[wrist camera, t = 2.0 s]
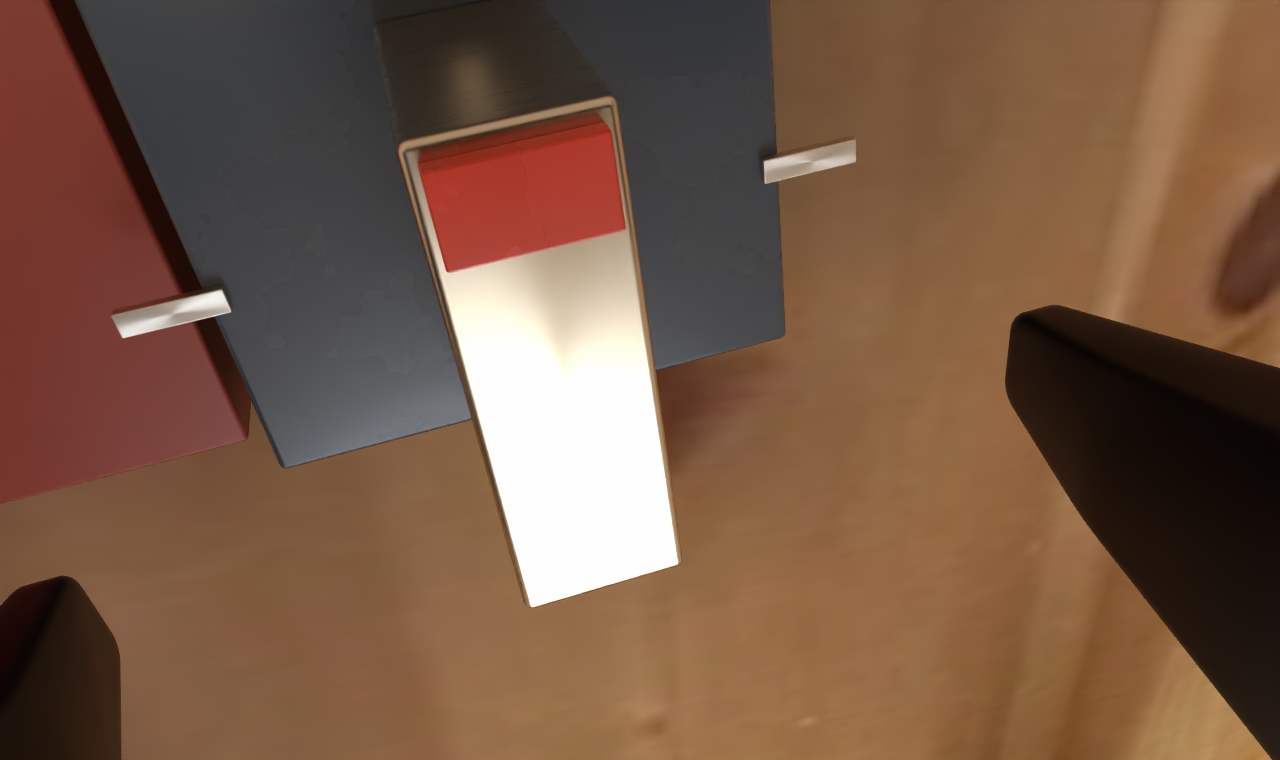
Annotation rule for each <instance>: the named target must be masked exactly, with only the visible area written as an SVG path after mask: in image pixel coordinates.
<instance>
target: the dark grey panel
mask: <svg viewBox="0 0 1280 760" xmlns="http://www.w3.org/2000/svg"><path fill="white" fill-rule="evenodd" d="M74 1H75V3H76V5H77V8H78V10H79V12H80V14H81V17H82V19H83V21H84V23H85V26H86V28H87V30H88V32H89V35H90V37H91V39H92V41H93V44H94V46H95V48H96V51H97V53H98V55H99V57H100V60H101V62H102V64H103V66H104V69H105V71H106V73H107V75H108V78H109V80H110V82H111V84H112V87H113V89H114V91H115V93H116V96H117V98H118V100H119V103H120V105H121V107H122V109H123V112H124V114H125V116H126V118H127V121H128V123H129V125H130V127H131V130H132V132H133V134H134V136H135V139H136V141H137V143H138V145H139V148H140V150H141V152H142V155H143V157H144V159H145V161H146V164H147V166H148V168H149V170H150V173H151V175H152V177H153V179H154V182H155V184H156V186H157V188H158V191H159V193H160V195H161V197H162V200H163V202H164V204H165V206H166V209H167V211H168V213H169V216H170V218H171V220H172V222H173V225H174V227H175V229H176V231H177V234H178V236H179V238H180V240H181V243H182V245H183V247H184V249H185V252H186V254H187V256H188V258H189V261H190V263H191V265H192V268H193V270H194V272H195V274H196V277H197V279H198V281H199V283H200V286H201V288H202V289H200V290H195V291H191V292H187V293H183V294H178V295H174V296H170V297H166V298H161V299H157V300H153V301H149V302H144V303H140V304H136V305H132V306H128V307H123V308H119V309H115V310H112V313H111V317H112V319H113V321H114V323H115V325H116V327H117V329H118V331H119V333H120V335H121V337H122V338H126V337H131V336H135V335H139V334H143V333H147V332H151V331H156V330H160V329H164V328H168V327H172V326H176V325H181V324H185V323H189V322H193V321H197V320H201V319H205V318H210V317H215V320H216V322H217V324H218V326H219V329H220V331H221V333H222V335H223V338H224V340H225V342H226V344H227V347H228V349H229V351H230V353H231V356H232V358H233V360H234V362H235V365H236V367H237V369H238V371H239V374H240V376H241V378H242V381H243V383H244V385H245V387H246V390H247V392H248V394H249V396H250V399H251V401H252V403H253V405H254V408H255V410H256V412H257V414H258V417H259V419H260V421H261V423H262V426H263V428H264V430H265V433H266V435H267V437H268V439H269V442H270V444H271V446H272V448H273V451H274V453H275V455H276V457H277V460H278V462H279V464H280V465H281V466H282V467H283V468H290V467H294V466H298V465H302V464H306V463H309V462H313V461H317V460H321V459H324V458H328V457H332V456H336V455H340V454H343V453H347V452H351V451H355V450H358V449H362V448H366V447H370V446H374V445H377V444H381V443H385V442H389V441H393V440H396V439H400V438H404V437H408V436H411V435H415V434H419V433H423V432H427V431H430V430H434V429H438V428H442V427H445V426H449V425H453V424H457V423H461V422H464V421H468V420H472V418H471V415H470V411H469V408H468V404H467V400H466V397H465V393H464V390H463V386H462V383H461V379H460V376H459V372H458V369H457V365H456V362H455V358H454V355H453V351H452V348H451V344H450V341H449V337H448V334H447V330H446V327H445V323H444V320H443V316H442V313H441V309H440V306H439V302H438V299H437V295H436V291H435V288H434V284H433V281H432V277H431V274H430V270H429V267H428V263H427V260H426V256H425V253H424V249H423V246H422V242H421V239H420V235H419V232H418V228H417V225H416V221H415V218H414V214H413V211H412V207H411V204H410V200H409V197H408V193H407V190H406V186H405V183H404V179H403V175H402V172H401V168H400V165H399V161H398V158H397V154H396V151H395V146H394V141H393V135H392V130H391V125H390V120H389V115H388V110H387V105H386V100H385V95H384V90H383V85H382V80H381V75H380V70H379V64H378V59H377V54H376V49H375V44H374V39H373V34H372V32H373V27H374V26H375V25H377V24H378V23H383V22H388V21H392V20H397V19H402V18H407V17H412V16H417V15H422V14H427V13H432V12H437V11H441V10H446V9H451V8H456V7H461V6H466V5H471V4H476V3H481V2H486V1H491V0H74ZM541 2H542V3H543V4H544V6H545V7H546V8H547V9H548V11H549V12H550V13H551V15H552V16H553V17H554V19H555V20H556V21H557V22H558V24H559V25H560V26H561V28H562V29H563V30H564V32H565V33H566V34H567V36H568V37H569V38H570V39H571V41H572V42H573V43H574V45H575V46H576V47H577V49H578V50H579V51H580V52H581V54H582V55H583V56H584V58H585V59H586V60H587V62H588V63H589V64H590V66H591V67H592V68H593V69H594V71H595V72H596V73H597V75H598V76H599V77H600V79H601V80H602V81H603V82H604V84H605V85H606V86H607V88H608V89H609V90H610V92H611V93H612V94H613V96H614V97H615V99H616V100H617V103H618V110H619V117H620V124H621V131H622V138H623V145H624V152H625V159H626V166H627V173H628V180H629V187H630V194H631V201H632V208H633V215H634V222H635V229H636V236H637V243H638V250H639V257H640V264H641V271H642V278H643V285H644V292H645V299H646V306H647V313H648V320H649V327H650V334H651V341H652V348H653V355H654V362H655V369H656V371H657V370H661V369H665V368H669V367H672V366H676V365H680V364H684V363H688V362H691V361H695V360H699V359H703V358H706V357H710V356H714V355H718V354H722V353H725V352H729V351H733V350H737V349H740V348H744V347H748V346H752V345H756V344H759V343H763V342H767V341H771V340H775V339H778V338H782V337H783V336H784V335H785V313H784V292H783V271H782V250H781V229H780V208H779V187H778V181H780V180H784V179H788V178H792V177H796V176H801V175H805V174H809V173H813V172H817V171H821V170H825V169H830V168H834V167H838V166H842V165H846V164H850V163H855V162H856V139H855V138H854V137H853V136H848V137H843V138H839V139H835V140H831V141H827V142H822V143H818V144H814V145H810V146H805V147H801V148H797V149H793V150H788V151H784V152H780V153H777V145H776V124H775V104H774V83H773V62H772V41H771V20H770V0H541Z"/></svg>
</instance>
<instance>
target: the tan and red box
mask: <svg viewBox="0 0 1280 760" xmlns="http://www.w3.org/2000/svg"><path fill="white" fill-rule="evenodd" d="M372 34H373V39H374V44H375V49H376V54H377V59H378V64H379V70H380V75H381V80H382V85H383V90H384V95H385V100H386V105H387V110H388V115H389V120H390V125H391V130H392V135H393V141H394V146H395V151H396V154H397V158H398V161H399V165H400V168H401V172H402V175H403V179H404V183H405V186H406V190H407V193H408V197H409V200H410V204H411V207H412V211H413V214H414V218H415V221H416V225H417V228H418V232H419V235H420V239H421V242H422V246H423V249H424V253H425V256H426V260H427V263H428V267H429V270H430V274H431V277H432V281H433V284H434V288H435V291H436V295H437V299H438V302H439V306H440V309H441V313H442V316H443V320H444V323H445V327H446V330H447V334H448V337H449V341H450V344H451V348H452V351H453V355H454V358H455V362H456V365H457V369H458V372H459V376H460V379H461V383H462V386H463V390H464V393H465V397H466V400H467V404H468V408H469V411H470V415H471V418H472V422H473V425H474V429H475V432H476V436H477V439H478V443H479V446H480V450H481V453H482V457H483V460H484V464H485V467H486V471H487V474H488V478H489V481H490V485H491V488H492V492H493V495H494V499H495V502H496V506H497V509H498V513H499V516H500V520H501V524H502V527H503V531H504V534H505V538H506V541H507V545H508V548H509V552H510V555H511V559H512V562H513V566H514V569H515V573H516V576H517V580H518V583H519V587H520V590H521V594H522V597H523V601H524V603H525V604H526V605H527V606H528V607H529V608H536V607H539V606H542V605H546V604H549V603H553V602H556V601H559V600H563V599H566V598H570V597H573V596H576V595H580V594H583V593H587V592H590V591H593V590H597V589H600V588H604V587H607V586H610V585H614V584H617V583H621V582H624V581H627V580H631V579H634V578H638V577H641V576H644V575H648V574H651V573H655V572H658V571H661V570H665V569H668V568H671V567H675V566H677V565H679V564H680V563H681V561H682V552H681V545H680V538H679V531H678V524H677V517H676V510H675V503H674V496H673V489H672V482H671V475H670V468H669V461H668V454H667V447H666V440H665V433H664V426H663V419H662V412H661V404H660V397H659V390H658V383H657V376H656V369H655V362H654V355H653V348H652V341H651V334H650V327H649V320H648V313H647V306H646V299H645V292H644V285H643V278H642V271H641V264H640V257H639V250H638V243H637V236H636V229H635V222H634V215H633V208H632V201H631V194H630V187H629V180H628V173H627V166H626V159H625V152H624V145H623V138H622V131H621V124H620V117H619V110H618V103H617V100H616V99H615V97H614V96H613V94H612V93H611V92H610V90H609V89H608V88H607V86H606V85H605V84H604V82H603V81H602V80H601V79H600V77H599V76H598V75H597V73H596V72H595V71H594V69H593V68H592V67H591V66H590V64H589V63H588V62H587V60H586V59H585V58H584V56H583V55H582V54H581V52H580V51H579V50H578V49H577V47H576V46H575V45H574V43H573V42H572V41H571V39H570V38H569V37H568V36H567V34H566V33H565V32H564V30H563V29H562V28H561V26H560V25H559V24H558V22H557V21H556V20H555V19H554V17H553V16H552V15H551V13H550V12H549V11H548V9H547V8H546V7H545V6H544V4H543V3H542V2H541V0H491V1H486V2H481V3H476V4H471V5H466V6H461V7H456V8H451V9H446V10H441V11H437V12H432V13H427V14H422V15H417V16H412V17H407V18H402V19H397V20H392V21H388V22H383V23H378V24H377V25H375V26H374V27H373V32H372Z"/></svg>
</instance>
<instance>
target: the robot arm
mask: <svg viewBox="0 0 1280 760" xmlns="http://www.w3.org/2000/svg"><path fill="white" fill-rule="evenodd" d="M1005 386H1006V392H1007V396H1008V398H1009V401H1010V403H1011V405H1012V407H1013V409H1014V410H1015V412H1016V413H1017V415H1018V417H1019V418H1020V420H1021V421H1022V423H1023V425H1024V426H1025V428H1026V429H1027V431H1028V433H1029V434H1030V436H1031V437H1032V439H1033V441H1034V442H1035V444H1036V446H1037V447H1038V449H1039V450H1040V452H1041V454H1042V455H1043V457H1044V458H1045V460H1046V462H1047V463H1048V465H1049V466H1050V468H1051V470H1052V471H1053V473H1054V474H1055V476H1056V478H1057V479H1058V481H1059V482H1060V484H1061V486H1062V487H1063V489H1064V490H1065V492H1066V494H1067V495H1068V497H1069V498H1070V500H1071V502H1072V503H1073V505H1074V506H1075V508H1076V509H1077V511H1078V512H1079V514H1080V515H1081V517H1082V518H1083V520H1084V521H1085V522H1086V524H1087V525H1088V526H1089V528H1090V529H1091V530H1092V532H1093V533H1094V534H1095V536H1096V537H1097V538H1098V540H1099V541H1100V542H1101V544H1102V545H1103V546H1104V547H1105V549H1106V550H1107V551H1108V552H1109V554H1110V555H1111V556H1112V557H1113V559H1114V560H1115V561H1116V563H1117V564H1118V565H1119V566H1120V568H1121V569H1122V570H1123V571H1124V573H1125V574H1126V575H1127V576H1128V578H1129V579H1130V580H1131V582H1132V583H1133V584H1134V585H1135V587H1136V588H1137V589H1138V590H1139V592H1140V593H1141V594H1142V595H1143V597H1144V598H1145V599H1146V601H1147V602H1148V603H1149V604H1150V606H1151V607H1152V608H1153V609H1154V611H1155V612H1156V613H1157V614H1158V616H1159V617H1160V618H1161V620H1162V621H1163V622H1164V623H1165V625H1166V626H1167V627H1168V628H1169V630H1170V631H1171V632H1172V633H1173V635H1174V636H1175V637H1176V638H1177V640H1178V641H1179V642H1180V644H1181V645H1182V646H1183V647H1184V649H1185V650H1186V651H1187V652H1188V654H1189V655H1190V656H1191V657H1192V659H1193V660H1194V661H1195V663H1196V664H1197V665H1198V666H1199V668H1200V669H1201V670H1202V671H1203V673H1204V674H1205V675H1206V676H1207V678H1208V679H1209V680H1210V682H1211V683H1212V684H1213V685H1214V687H1215V688H1216V689H1217V690H1218V692H1219V693H1220V694H1221V695H1222V697H1223V698H1224V699H1225V701H1226V702H1227V703H1228V704H1229V706H1230V707H1231V708H1232V709H1233V711H1234V712H1235V713H1236V714H1237V716H1238V717H1239V718H1240V720H1241V721H1242V722H1243V723H1244V725H1245V726H1246V727H1247V728H1248V730H1249V731H1250V732H1251V733H1252V735H1253V736H1254V737H1255V739H1256V740H1257V741H1258V742H1259V744H1260V745H1261V746H1262V747H1263V749H1264V750H1265V751H1266V752H1267V754H1268V755H1269V756H1270V758H1271V759H1272V760H1280V368H1278V367H1274V366H1271V365H1267V364H1264V363H1260V362H1257V361H1253V360H1250V359H1246V358H1243V357H1239V356H1235V355H1232V354H1228V353H1225V352H1221V351H1218V350H1214V349H1211V348H1207V347H1204V346H1200V345H1197V344H1193V343H1190V342H1186V341H1183V340H1179V339H1176V338H1172V337H1169V336H1165V335H1162V334H1158V333H1155V332H1151V331H1148V330H1144V329H1141V328H1137V327H1134V326H1130V325H1127V324H1123V323H1120V322H1116V321H1113V320H1109V319H1106V318H1102V317H1099V316H1095V315H1092V314H1088V313H1085V312H1081V311H1078V310H1074V309H1071V308H1067V307H1064V306H1060V305H1049V306H1045V307H1042V308H1038V309H1034V310H1031V311H1027V312H1023V313H1021V314H1019V315H1018V316H1017V317H1016V318H1015V319H1014V321H1013V323H1012V325H1011V330H1010V339H1009V348H1008V358H1007V367H1006V376H1005ZM0 760H121V682H120V655H119V650H118V646H117V643H116V640H115V638H114V636H113V634H112V632H111V631H110V629H109V628H108V626H107V625H106V623H105V622H104V620H103V619H102V617H101V616H100V614H99V613H98V611H97V609H96V608H95V606H94V605H93V603H92V602H91V600H90V599H89V597H88V596H87V594H86V593H85V591H84V590H83V588H82V587H81V586H80V584H79V583H78V582H77V581H76V580H74V579H73V578H71V577H68V576H59V577H55V578H51V579H48V580H44V581H40V582H37V583H33V584H29V585H26V586H23V587H21V588H19V589H17V590H16V591H15V592H13V593H12V594H11V595H10V596H9V597H8V598H7V599H6V601H5V602H4V603H3V604H2V605H1V606H0Z"/></svg>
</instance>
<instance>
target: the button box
mask: <svg viewBox="0 0 1280 760" xmlns="http://www.w3.org/2000/svg"><path fill="white" fill-rule="evenodd" d="M200 289H202V288H201V286H200V283H199V281H198V279H197V277H196V274H195V272H194V270H193V268H192V265H191V263H190V261H189V258H188V256H187V254H186V252H185V249H184V247H183V245H182V243H181V240H180V238H179V236H178V234H177V231H176V229H175V227H174V225H173V222H172V220H171V218H170V216H169V213H168V211H167V209H166V206H165V204H164V202H163V200H162V197H161V195H160V193H159V191H158V188H157V186H156V184H155V182H154V179H153V177H152V175H151V173H150V170H149V168H148V166H147V164H146V161H145V159H144V157H143V155H142V152H141V150H140V148H139V145H138V143H137V141H136V139H135V136H134V134H133V132H132V130H131V127H130V125H129V123H128V121H127V118H126V116H125V114H124V112H123V109H122V107H121V105H120V103H119V100H118V98H117V96H116V93H115V91H114V89H113V87H112V84H111V82H110V80H109V78H108V75H107V73H106V71H105V69H104V66H103V64H102V62H101V60H100V57H99V55H98V53H97V51H96V48H95V46H94V44H93V41H92V39H91V37H90V35H89V32H88V30H87V28H86V26H85V23H84V21H83V19H82V17H81V14H80V12H79V10H78V8H77V5H76V3H75V1H74V0H0V504H2V503H6V502H10V501H14V500H18V499H22V498H25V497H29V496H33V495H37V494H41V493H45V492H49V491H53V490H56V489H60V488H64V487H68V486H72V485H76V484H80V483H83V482H87V481H91V480H95V479H99V478H103V477H107V476H110V475H114V474H118V473H122V472H126V471H130V470H134V469H137V468H141V467H145V466H149V465H153V464H157V463H161V462H165V461H168V460H172V459H176V458H180V457H184V456H188V455H192V454H195V453H199V452H203V451H207V450H211V449H215V448H219V447H222V446H226V445H230V444H234V443H238V442H242V441H245V440H246V439H248V433H249V420H250V407H251V399H250V396H249V394H248V392H247V390H246V387H245V385H244V383H243V381H242V378H241V376H240V374H239V371H238V369H237V367H236V365H235V362H234V360H233V358H232V356H231V353H230V351H229V349H228V347H227V344H226V342H225V340H224V338H223V335H222V333H221V331H220V329H219V326H218V324H217V322H216V320H215V317H210V318H205V319H201V320H197V321H193V322H189V323H185V324H181V325H176V326H172V327H168V328H164V329H160V330H156V331H151V332H147V333H143V334H139V335H135V336H131V337H126V338H122V337H121V335H120V333H119V331H118V329H117V327H116V325H115V323H114V321H113V319H112V317H111V313H112V310H115V309H119V308H123V307H128V306H132V305H136V304H140V303H144V302H149V301H153V300H157V299H161V298H166V297H170V296H174V295H178V294H183V293H187V292H191V291H195V290H200Z"/></svg>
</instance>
